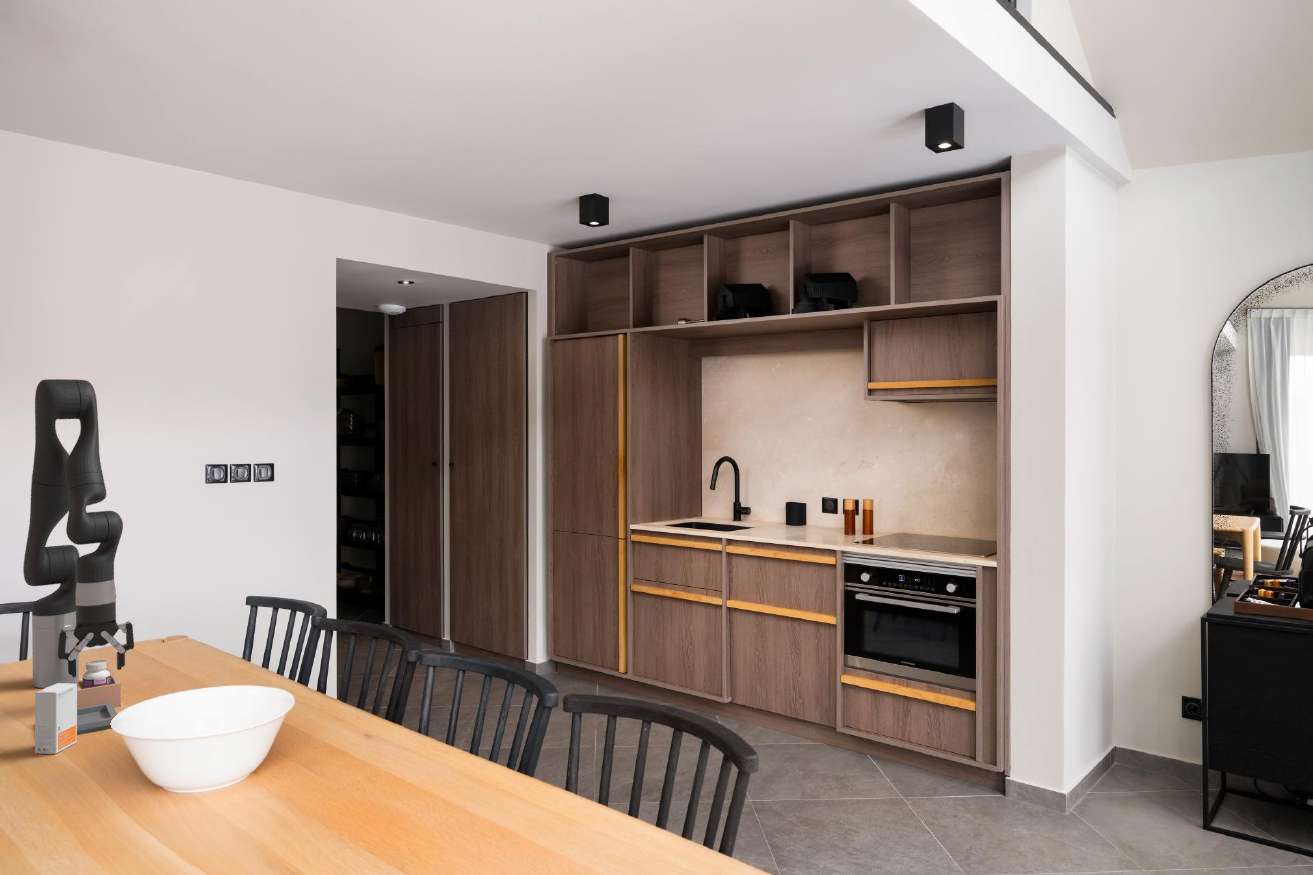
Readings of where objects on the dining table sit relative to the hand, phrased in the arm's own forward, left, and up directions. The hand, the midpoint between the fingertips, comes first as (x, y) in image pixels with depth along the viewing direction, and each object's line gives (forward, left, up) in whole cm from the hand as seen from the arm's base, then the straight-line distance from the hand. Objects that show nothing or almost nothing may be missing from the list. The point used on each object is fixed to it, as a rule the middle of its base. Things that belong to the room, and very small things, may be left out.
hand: (96, 672), depth 192 cm
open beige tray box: (0, 0, -7) cm, 7 cm away
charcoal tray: (+13, -4, -7) cm, 15 cm away
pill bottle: (0, 0, -8) cm, 8 cm away
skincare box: (+25, -9, -8) cm, 27 cm away
